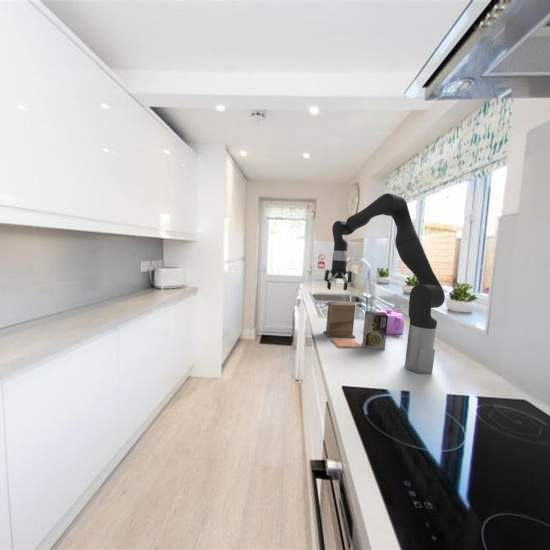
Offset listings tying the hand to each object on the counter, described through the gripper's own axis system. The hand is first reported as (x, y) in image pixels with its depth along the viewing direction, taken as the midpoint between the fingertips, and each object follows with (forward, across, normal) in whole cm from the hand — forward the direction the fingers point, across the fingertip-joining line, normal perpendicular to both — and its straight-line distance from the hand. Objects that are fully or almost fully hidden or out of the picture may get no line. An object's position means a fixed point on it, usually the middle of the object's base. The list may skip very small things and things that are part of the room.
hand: (337, 289), depth 160 cm
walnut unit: (+22, 0, -9) cm, 24 cm away
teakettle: (+22, +31, +2) cm, 38 cm away
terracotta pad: (+22, -1, -22) cm, 31 cm away
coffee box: (+22, +11, -25) cm, 35 cm away
